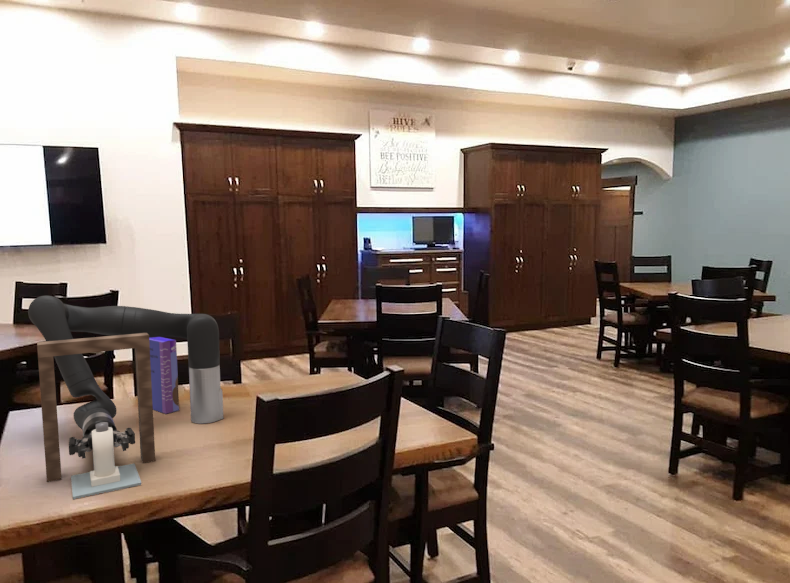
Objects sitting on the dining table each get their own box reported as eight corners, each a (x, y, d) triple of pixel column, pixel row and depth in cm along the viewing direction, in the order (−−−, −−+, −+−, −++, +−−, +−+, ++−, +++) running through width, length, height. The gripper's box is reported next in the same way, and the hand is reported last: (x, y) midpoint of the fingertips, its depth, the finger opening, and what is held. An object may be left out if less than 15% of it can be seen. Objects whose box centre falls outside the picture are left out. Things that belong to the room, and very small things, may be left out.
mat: (134, 465, 144) (134, 463, 144) (141, 484, 133) (141, 482, 133) (71, 478, 137) (70, 475, 137) (72, 499, 126) (72, 497, 126)
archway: (153, 455, 151) (146, 332, 147) (155, 460, 147) (149, 335, 144) (46, 475, 138) (37, 342, 135) (46, 482, 135) (37, 345, 131)
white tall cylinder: (117, 471, 139) (114, 418, 138) (120, 480, 134) (117, 425, 133) (90, 477, 136) (86, 422, 135) (91, 486, 131) (88, 429, 129)
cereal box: (179, 410, 189) (176, 339, 186) (165, 414, 185) (162, 341, 182) (151, 401, 199) (148, 333, 197) (138, 404, 196) (134, 335, 193)
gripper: (66, 420, 142) (68, 440, 129) (128, 411, 150) (137, 429, 136) (68, 449, 143) (70, 472, 129) (130, 439, 151) (138, 459, 137)
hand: (104, 450), depth 133 cm, fingers open, 8 cm apart
